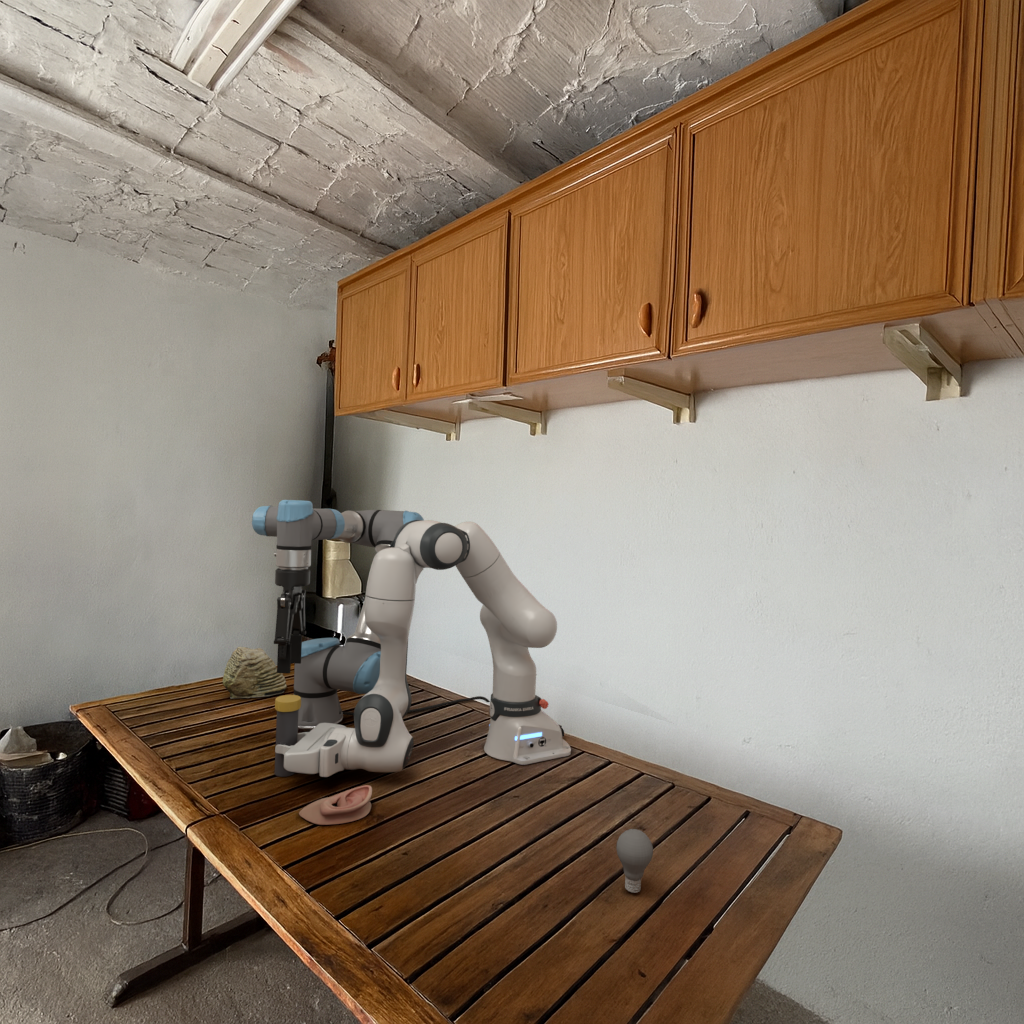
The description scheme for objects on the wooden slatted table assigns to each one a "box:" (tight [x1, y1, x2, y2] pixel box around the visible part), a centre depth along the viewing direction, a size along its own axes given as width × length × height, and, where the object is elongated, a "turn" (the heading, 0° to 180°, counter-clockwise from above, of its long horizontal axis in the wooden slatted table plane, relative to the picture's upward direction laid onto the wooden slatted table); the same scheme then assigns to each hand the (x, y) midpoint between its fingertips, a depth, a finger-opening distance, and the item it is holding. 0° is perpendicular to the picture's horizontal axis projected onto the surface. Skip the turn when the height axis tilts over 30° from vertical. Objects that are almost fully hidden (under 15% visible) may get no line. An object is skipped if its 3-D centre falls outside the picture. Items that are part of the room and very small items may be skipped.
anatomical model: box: [298, 784, 373, 826], centre depth 127 cm, size 13×4×12 cm
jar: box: [274, 709, 299, 778], centre depth 145 cm, size 5×5×16 cm
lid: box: [274, 694, 301, 712], centre depth 144 cm, size 6×6×2 cm
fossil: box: [222, 646, 288, 699], centre depth 198 cm, size 9×18×15 cm, turn 132°
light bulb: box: [615, 828, 654, 894], centre depth 106 cm, size 6×6×10 cm
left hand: (289, 667), depth 144 cm, fingers open, 8 cm apart
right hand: (282, 742), depth 145 cm, fingers closed on jar, 5 cm apart
